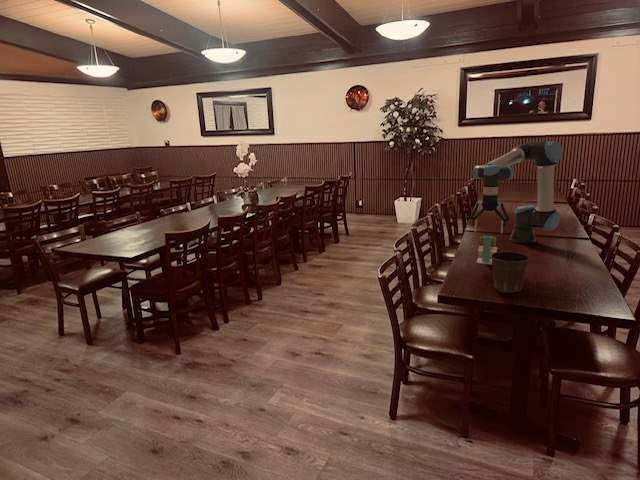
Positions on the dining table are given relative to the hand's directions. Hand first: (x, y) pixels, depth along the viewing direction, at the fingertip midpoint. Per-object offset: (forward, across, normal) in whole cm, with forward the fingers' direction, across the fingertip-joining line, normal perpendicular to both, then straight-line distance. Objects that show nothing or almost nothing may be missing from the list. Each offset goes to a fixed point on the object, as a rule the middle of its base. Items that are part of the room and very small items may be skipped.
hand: (488, 231), depth 232 cm
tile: (+17, 0, -1) cm, 17 cm away
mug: (+18, 0, +25) cm, 31 cm away
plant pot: (+17, +12, -40) cm, 45 cm away
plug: (+17, 0, -1) cm, 17 cm away
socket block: (+18, 0, +12) cm, 21 cm away
